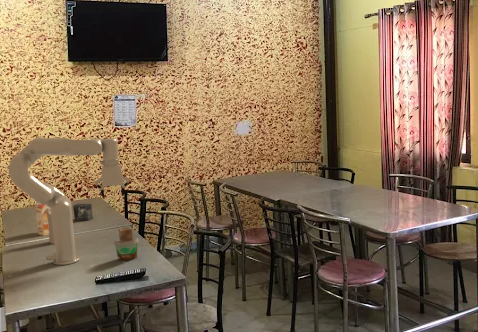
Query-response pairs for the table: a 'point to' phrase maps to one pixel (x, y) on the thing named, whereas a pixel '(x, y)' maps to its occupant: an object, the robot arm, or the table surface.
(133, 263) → the table surface
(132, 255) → the food container
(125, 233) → the walnut block
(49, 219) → the candle
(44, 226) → the coffeecake box
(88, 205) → the box
